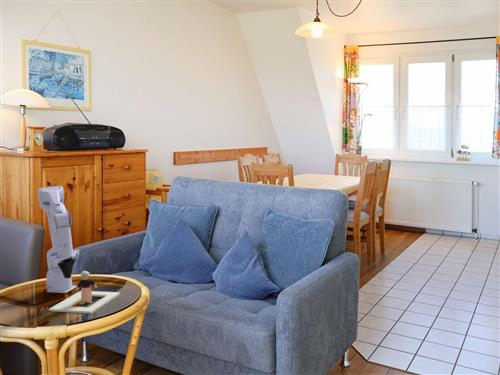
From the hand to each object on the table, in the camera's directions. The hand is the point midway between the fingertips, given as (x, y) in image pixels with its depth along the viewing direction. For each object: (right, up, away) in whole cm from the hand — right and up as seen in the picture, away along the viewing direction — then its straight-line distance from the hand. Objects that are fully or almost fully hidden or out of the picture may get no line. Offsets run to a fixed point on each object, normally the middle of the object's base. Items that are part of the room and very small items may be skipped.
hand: (67, 277), depth 191 cm
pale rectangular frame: (+8, -9, -1) cm, 13 cm away
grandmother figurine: (+8, -10, -1) cm, 13 cm away
